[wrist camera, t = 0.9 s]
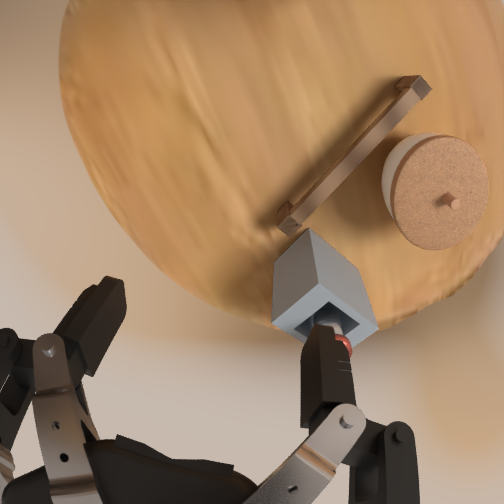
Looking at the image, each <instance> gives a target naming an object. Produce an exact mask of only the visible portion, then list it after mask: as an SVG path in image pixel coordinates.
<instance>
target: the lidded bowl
mask: <svg viewBox="0 0 504 504" xmlns="http://www.w3.org/2000/svg"><path fill="white" fill-rule="evenodd" d="M381 185H382V192H383V197H384V201H385V203H386V206H387V208H388V211H389V213H390V214H391V216H392V218H393V219H394V221H395V223H396V225H397V226H398V228H399V230H400V231H401V233H402V234H403V235H404V236H405V238H406V239H407V240H409V241H410V242H411V243H412V244H414V245H416V246H417V247H420V248H423V249H427V250H442V249H446V248H449V247H452V246H454V245H456V244H458V243H460V242H461V241H462V240H464V239H465V238H466V237H467V236H468V235H469V234H470V233H471V232H472V231H473V230H474V229H475V228H476V226H477V225H478V223H479V221H480V220H481V218H482V216H483V214H484V211H485V208H486V205H487V200H488V193H489V181H488V175H487V170H486V168H485V165H484V162H483V160H482V158H481V157H480V155H479V154H478V152H477V151H476V150H475V149H474V148H473V147H472V146H471V145H470V144H468V143H467V142H465V141H463V140H461V139H459V138H456V137H453V136H447V135H444V134H439V133H431V132H426V133H418V134H414V135H411V136H409V137H406V138H405V139H403V140H402V141H400V142H399V143H398V144H397V145H396V146H395V147H394V148H393V149H392V150H391V152H390V153H389V155H388V157H387V158H386V161H385V164H384V166H383V171H382V180H381Z"/></svg>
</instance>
